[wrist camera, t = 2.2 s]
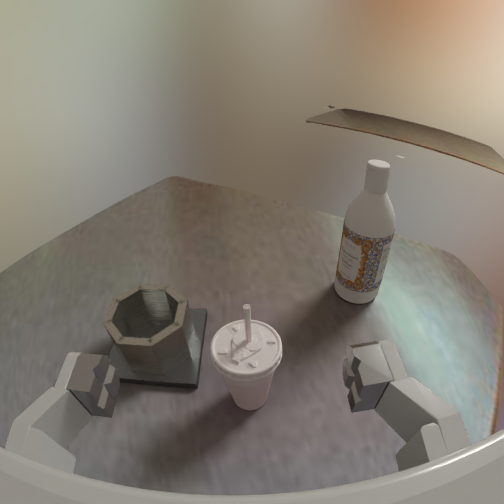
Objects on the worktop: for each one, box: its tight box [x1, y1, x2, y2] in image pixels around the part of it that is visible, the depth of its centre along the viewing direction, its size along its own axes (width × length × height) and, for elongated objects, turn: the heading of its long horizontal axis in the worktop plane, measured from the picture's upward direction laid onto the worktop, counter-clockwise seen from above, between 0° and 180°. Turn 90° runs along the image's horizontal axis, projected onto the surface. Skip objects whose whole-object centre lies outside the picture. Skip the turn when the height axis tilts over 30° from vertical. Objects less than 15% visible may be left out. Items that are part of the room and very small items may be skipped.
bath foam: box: [334, 160, 395, 304], centre depth 40 cm, size 7×7×20 cm
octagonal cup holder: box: [103, 284, 207, 388], centre depth 36 cm, size 12×12×6 cm
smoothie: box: [210, 304, 282, 410], centre depth 28 cm, size 6×6×14 cm
